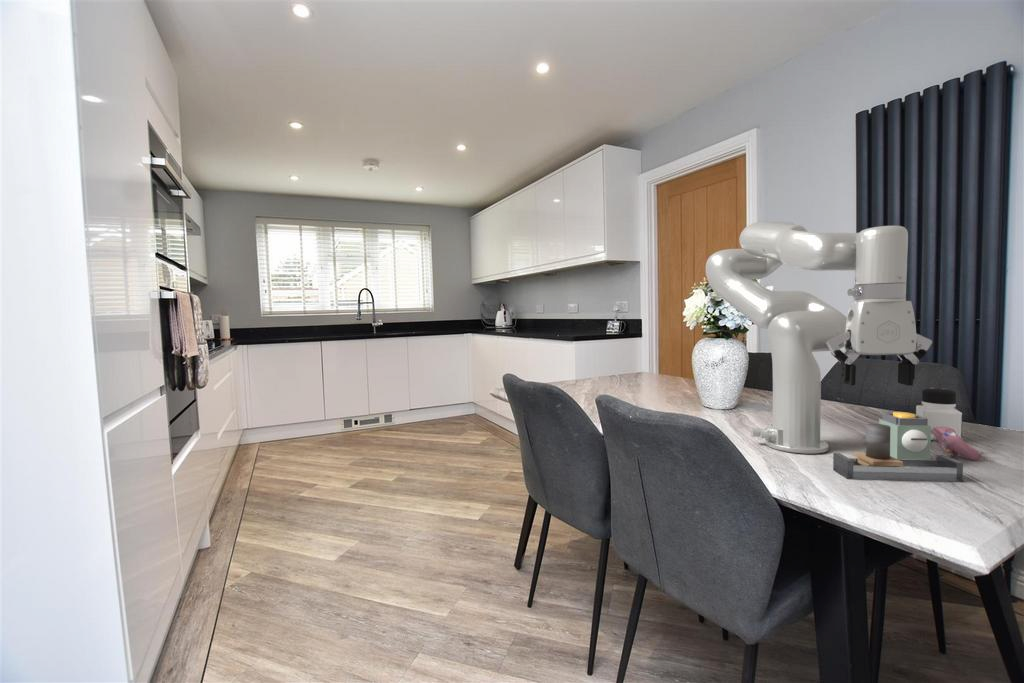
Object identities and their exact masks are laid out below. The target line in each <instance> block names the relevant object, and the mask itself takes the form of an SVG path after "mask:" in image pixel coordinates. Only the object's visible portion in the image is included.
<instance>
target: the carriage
mask: <svg viewBox="0 0 1024 683" xmlns="http://www.w3.org/2000/svg"><path fill="white" fill-rule="evenodd" d="M865 426H866V428H865V429H866V430H865V452H864V451H854V453H853V454H854V455H853V456H854V458H859V459H858V463H859V464H861V465H863V466H903V462H902V461H900V460H898V459H895V458H893V457H891V456H890V429H891V427H890V426H888V425H883V424H879V423H866V425H865Z"/></svg>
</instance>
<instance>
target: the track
mask: <svg viewBox="0 0 1024 683" xmlns="http://www.w3.org/2000/svg"><path fill="white" fill-rule="evenodd" d="M832 458H833V459H832V460H833V461H832V463H833V466H832V467H833V468H832V470H833V471H834V472H836V473H837V474H839V475H840V476H842V477H843V478H846V479H847V480H873V481H874V480H875V481H877V480H879V481H905V482H906V481H909V482H910V481H911V482H915V481H916V482H947V483H948V482H950V483H951V482H954V483H962V482H963V481H964V480H963V479H964V478H963V477H964V462H962V461H959V460H958V459H957V460H956V459H954V458H951V457H949V456H948V455H947V456H946V455H944V454H936V455H935V459H930V460H924V459H898V460H900V461H902V462H903V466H863V465H861V464H859V463H858V459H859V458H857V457H854V458H853V457H847V456H845V455H844V454H842V453H840V452H833V457H832Z"/></svg>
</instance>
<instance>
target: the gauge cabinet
mask: <svg viewBox="0 0 1024 683" xmlns="http://www.w3.org/2000/svg"><path fill="white" fill-rule="evenodd" d="M881 414H882V415H881V416H882V417H881V418H879V419H878V424H883V425H888V426H890V427H891V429H890V456H891V457H893V458H895V459H924V460H931V452H932V450H931V448H932V447H931V442H932V440H931V426H929V425H928V419H927V418H925V417H921V416H918V415H916V418H898V417H895V416H893V412H882V413H881Z"/></svg>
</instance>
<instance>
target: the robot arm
mask: <svg viewBox="0 0 1024 683" xmlns="http://www.w3.org/2000/svg"><path fill="white" fill-rule="evenodd" d="M738 241H739V242H738V243H739V245H740V247H741V248H728V249H721V250H718V251H716V252H714V253H712V254H711V255H710V256H709V257H708V258H707V260H706V263H705V275H706V276H705V277H706V278H707V282H708V284H709V287H710V288H711V289H712V291H713V292H714V294H716V295H717V296H718V297H720V298H721V299H722V300H723V301H725V302H727V303H728V304H729V305H731V306H732V307H733V308H734V309H736V310H737V311H738V312H740V313H741V314H742V315H743V316H744V317H746V319H748V320H749V321H750V322H752V323H753V324H754V325H756V326H757V327H759V328H760V329H765V330H767V338H768V343H769V348H770V352H771V362H772V424H771V423H770V424H768V426H767V427H764V428H750V432H749V433H750V436H751V437H758V438H759V437H760V439H764V440H765V441H764V442H765V445H766V446H768V447H770V448H772V449H774V450H778V451H782V452H788V453H796V454H807V455H814V454H822V453H826V452H828V451H829V444H828V443H827V442H826V441H823V440H821V413H822V412H821V408H822V406H821V404H822V402H821V401H822V398H821V397H822V394H821V392H822V388H821V387H822V382H821V380H822V377H821V376H822V375H821V370H820V369H821V368H820V366H819V363H818V361H817V359H816V358H815V356H814V353H815V352H830V353H831V356H833V357H834V358H835V359H836V360H837V361H838V363H840V379H841V382H842V384H843V385H844V384H845V385H848V386H855V385H856V379H857V378H856V374H857V372H856V371H857V370H856V368H857V367H856V366H857V365H856V364H853V363H854V362H855V361H856V360H857V358H859V356H861V355H863V356H897V357H898V358H899V359H900V361H901V362H898V365H897V383H899V384H901V385H905V386H908V387H909V386H913V385H914V380H915V376H916V375H915V374H916V373H915V372H916V370H915V369H916V365H918V364H919V363H920V360H921V359H922V358H923V357H924V356H926V355H927V351H928V350H929V349H930V347H931V345H932V344H933V340H932V339H929V338H927V337H925V336H923V335H921V334H919V333H917V327H916V326H917V325H916V319H915V318H916V317H915V311H914V307H913V303H912V301H911V300H907V296H906V295H907V277H908V276H907V272H908V253H909V252H908V249H909V248H908V247H909V233H908V229H907V228H906V227H905V226H901V225H882V226H874V227H868V228H865V229H862V230H861V231H859V232H816V231H815V232H814V231H808V230H807V229H806V228H805V227H804V226H802V225H800V224H795V223H793V222H790V221H758V222H753V223H751V224H749V225H747V226H746V227H745V228H744V229H743V230H742V231H741V233H740V234H739V239H738ZM783 265H785V266H787V267H793V268H797V269H803V270H809V271H816V272H821V271H823V272H824V271H855V274H854V277H855V278H854V285H853V288H848V289H847V295H848V296H849V297H850V296H852V297H853V299H854V302H853V301H852V302H850V305H849V308H848V312H847V316H846V315H845V314H844V313H842V312H841V311H839V310H838V309H837V308H835V307H834V306H831V305H830V304H828V303H827V302H825V301H824V300H822V299H820V298H819V297H817V296H815V295H814V294H811V293H808V292H805V291H800V290H784V291H783V290H782V291H781V290H771V289H769V288H767V287H765V286H764V285H762V284H761V283H759V282H758V281H756V280H761V279H764V278H767V277H768V276H770V275H771V274H772V273H774V272H775V271H776V270H777V269H779V268H780V267H781V266H783ZM843 348H844V349H845V351H843V350H841V349H843Z"/></svg>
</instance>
